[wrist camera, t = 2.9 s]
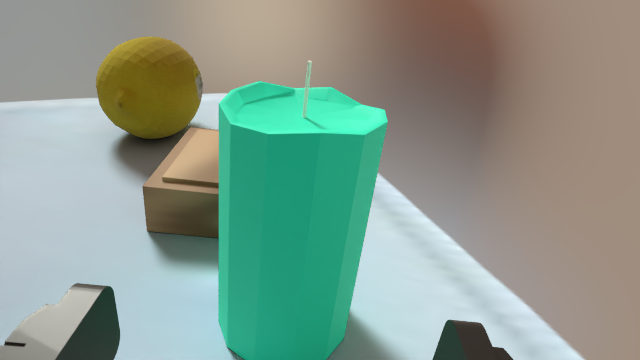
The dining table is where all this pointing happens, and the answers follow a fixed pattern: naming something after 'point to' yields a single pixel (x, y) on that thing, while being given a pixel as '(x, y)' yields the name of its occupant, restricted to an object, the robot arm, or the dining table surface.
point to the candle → (292, 215)
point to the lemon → (149, 87)
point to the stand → (186, 187)
